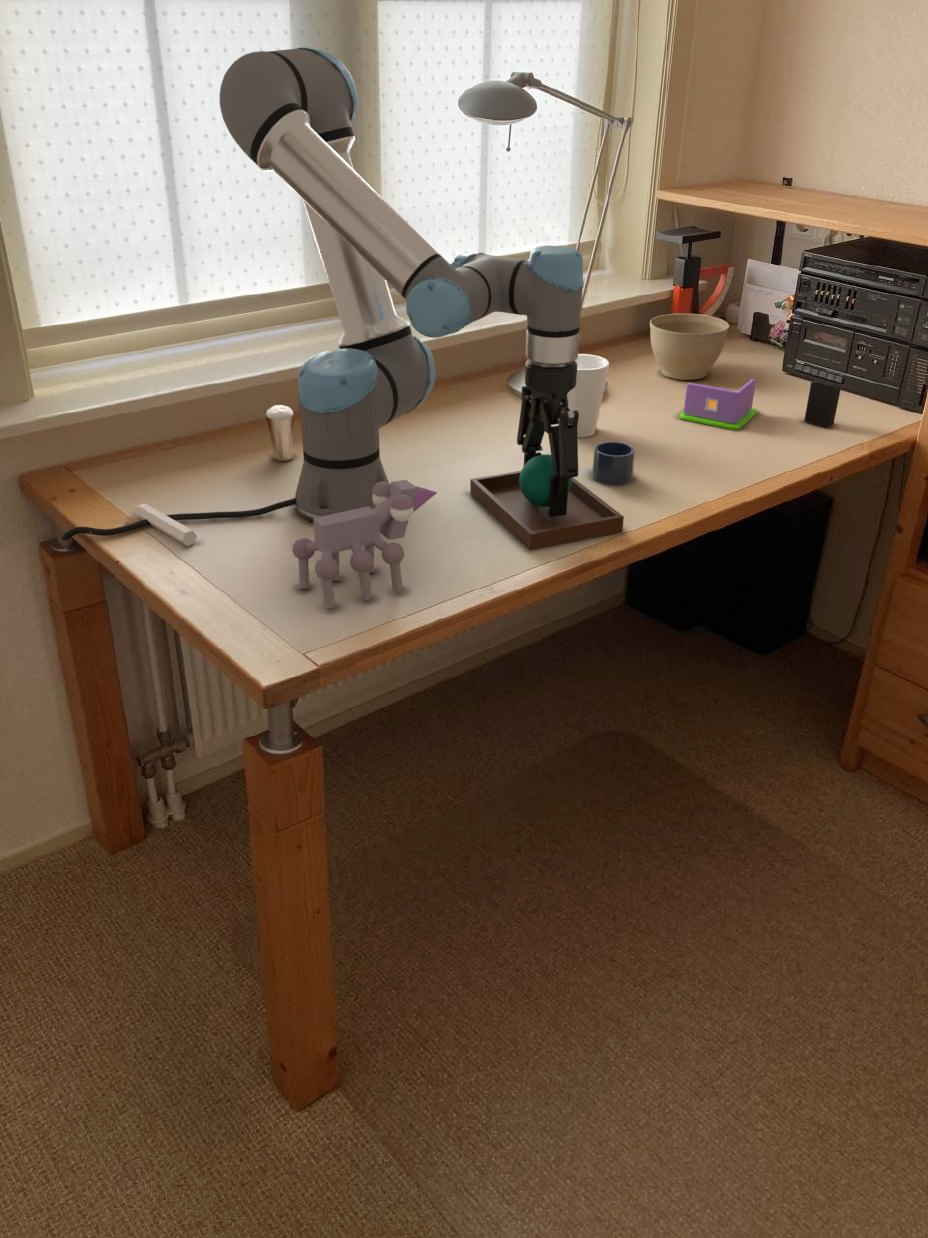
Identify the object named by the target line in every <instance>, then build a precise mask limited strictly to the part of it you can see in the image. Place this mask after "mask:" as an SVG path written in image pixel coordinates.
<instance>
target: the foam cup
mask: <svg viewBox="0 0 928 1238" xmlns="http://www.w3.org/2000/svg"><path fill="white" fill-rule="evenodd" d="M575 361H576V363H577V379H576V386H575V387H574V388H573V389H572V390H570V391H569V393H568V394H567V399H568V408H569V409H570V410H571V411H575V410H577V411H578V412H579V419H578V425H577V437H578V438H585V437H586V438H587V437H591V436H593V435H595V433H596V429H597V426H598V421H599V416H600V411H601V407H602V403H603V398H604V394H605V387H606V383H607V379H608V377H609V371H610V362H609V360H608V359H607V358H605V357H602V356H600V355H595V354H588V353H578V357H577V359H576V360H575Z"/></svg>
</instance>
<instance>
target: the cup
mask: <svg viewBox="0 0 928 1238" xmlns="http://www.w3.org/2000/svg"><path fill="white" fill-rule="evenodd" d="M635 455H636V450H635V447H634V446H632V445H631V444H629V443H625V442H623V441H622V442H621V441H603V442H600V443H597V444H595V446H594V447H593V459H592V460H593V461H592V478H593V479H594V480H595V481H597V482H598V483H600V484H604V485H613V486H614V485H615V486H619V485H625V484H628V483H630V482H631V481H632V480H633V476H634V466H635V458H636V457H635Z"/></svg>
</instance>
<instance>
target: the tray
mask: <svg viewBox="0 0 928 1238" xmlns="http://www.w3.org/2000/svg"><path fill="white" fill-rule="evenodd" d="M521 471H522V470H518V471H509V472H505V473H499V474H498V473H497V474H493V475H487V476H480V477H474V478H470V481H469V483H470V485H469V487H470V488H469V489H470V491H469V492H470V495H471V496H472V497H473V498H474V499H475V500H476V501H477V502H478V503H479V504H481V506H483V507H484V508H485V509H486V510H487V511H488V512H489V513H490V514H491V515H492V516H493V517H494V518H496V519H497V521H498V522H500V523H501V524H502V525H503V526H504V527H505V528H506V529H507V530H508V531H509V532H510V533H511V534H512V535H513V536H514V537H516V538H517V540H519V542H520V543H522V544H523V545H524V546H525V547H526V548H527V549H528V550H529V551H532V550H537V549H542V548H543V549H544V548H547V547H552V546H559V545H564V544H568V543H573V542H580V541H584V540H589V539H594V538H598V537H603V536H609V535H614V534H619V533H623V532H624V531H623V530H624V521H625V516H624V515H623V514H621V513H620V512H619V511H617V510H616V509H615V508H614V507H612V506H611V505H609V504H608V503H607V502H606V501H604V500H603V499H602V498H601V497H599V496H598V495H597V494H595V493H594V492H593V491H592V490H590V489H589V488H587V487H586V486H585V485H584V484H582V483H581V482H580V481H578V479H576V478H575V477H572V483H571V488H570V491H569V493H568V499H567V514H566V515H562V516H556V517H550V516H548V514H549V507H541V506H537V505H534V504H532V503H531V502H530V501H528V500H527V499H526V498H525V496H524V495H523V493H522V491H521V488H520V482H519V479H520V474H521Z"/></svg>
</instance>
